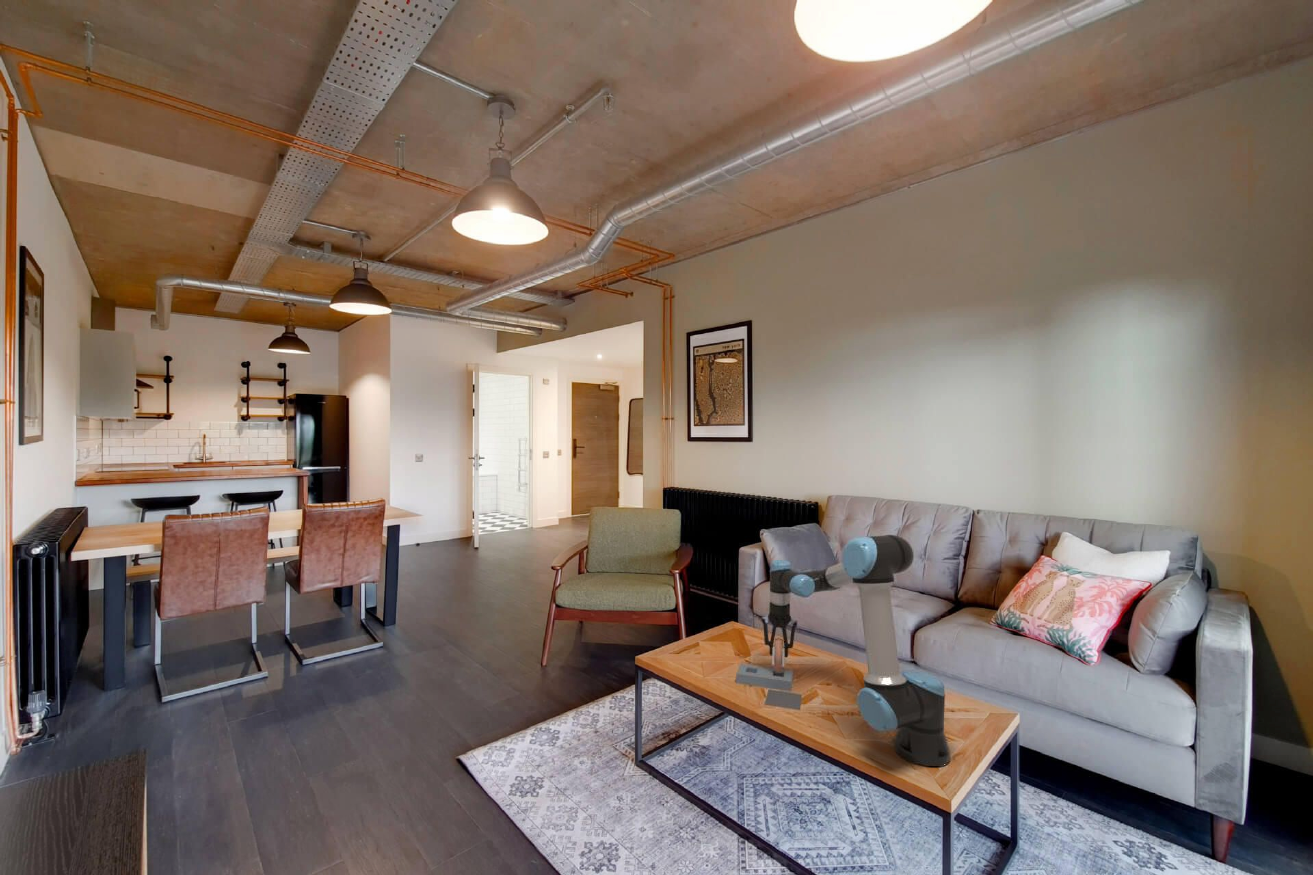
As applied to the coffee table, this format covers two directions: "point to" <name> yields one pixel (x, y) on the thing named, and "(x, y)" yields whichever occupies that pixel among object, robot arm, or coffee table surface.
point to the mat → (783, 699)
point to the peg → (778, 655)
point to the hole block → (764, 677)
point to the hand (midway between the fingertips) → (778, 664)
